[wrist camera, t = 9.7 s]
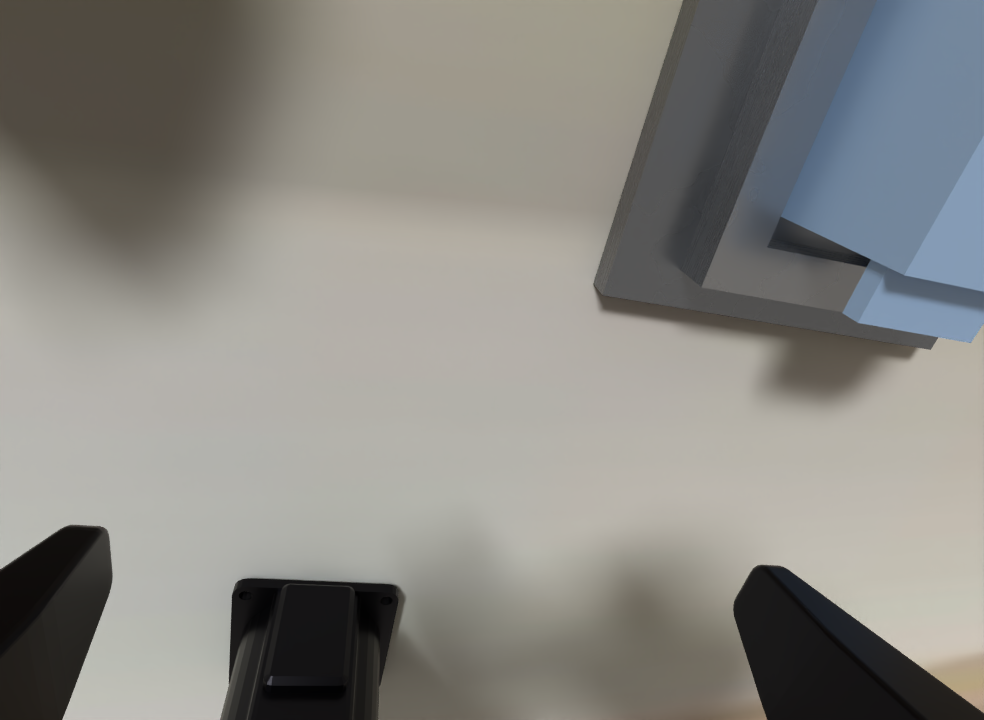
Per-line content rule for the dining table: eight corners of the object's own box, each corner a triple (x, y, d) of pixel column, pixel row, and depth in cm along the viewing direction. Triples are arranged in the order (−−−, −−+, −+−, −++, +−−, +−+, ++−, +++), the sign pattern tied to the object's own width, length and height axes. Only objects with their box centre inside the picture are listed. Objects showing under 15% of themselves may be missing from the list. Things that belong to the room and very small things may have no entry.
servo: (854, 278, 20) (1029, 372, 14) (751, 258, 19) (895, 349, 13) (1021, -34, 16) (1349, -71, 10) (900, -80, 15) (1190, -145, 9)
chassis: (910, 337, 23) (964, 369, 20) (593, 283, 20) (617, 314, 18) (1153, -69, 17) (1264, -84, 15) (756, -230, 14) (823, -279, 12)
